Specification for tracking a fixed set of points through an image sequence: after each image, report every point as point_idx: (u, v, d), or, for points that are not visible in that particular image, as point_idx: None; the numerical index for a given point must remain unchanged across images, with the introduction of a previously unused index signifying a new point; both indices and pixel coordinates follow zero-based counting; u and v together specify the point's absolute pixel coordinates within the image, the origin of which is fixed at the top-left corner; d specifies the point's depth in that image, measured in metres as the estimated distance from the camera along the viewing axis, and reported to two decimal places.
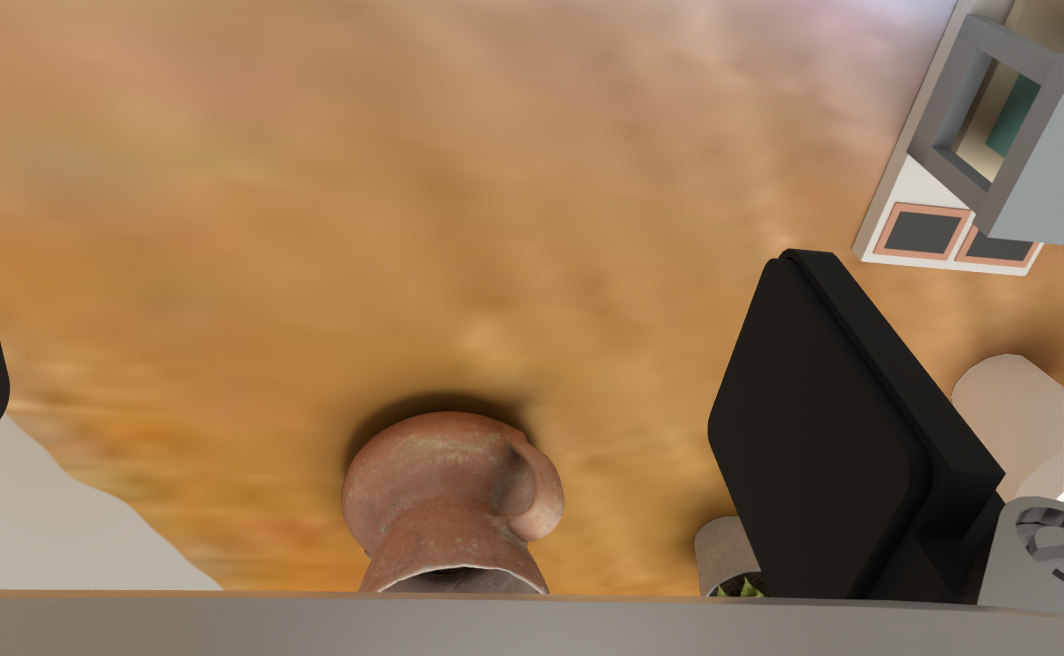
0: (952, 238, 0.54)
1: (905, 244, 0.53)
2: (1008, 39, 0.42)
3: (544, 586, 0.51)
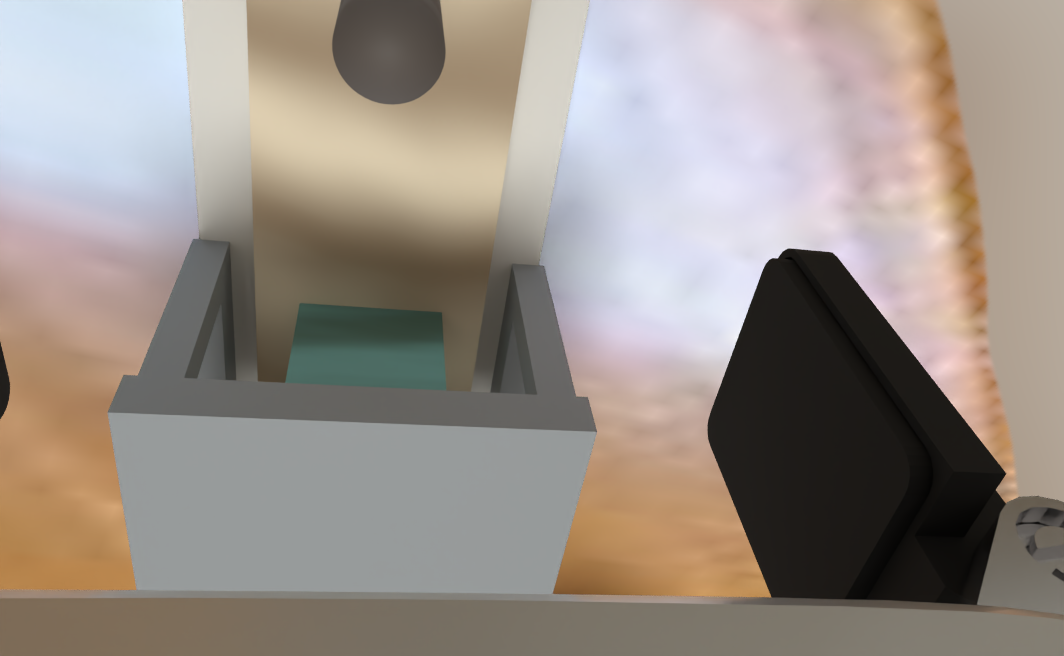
0: None
1: None
2: None
3: None
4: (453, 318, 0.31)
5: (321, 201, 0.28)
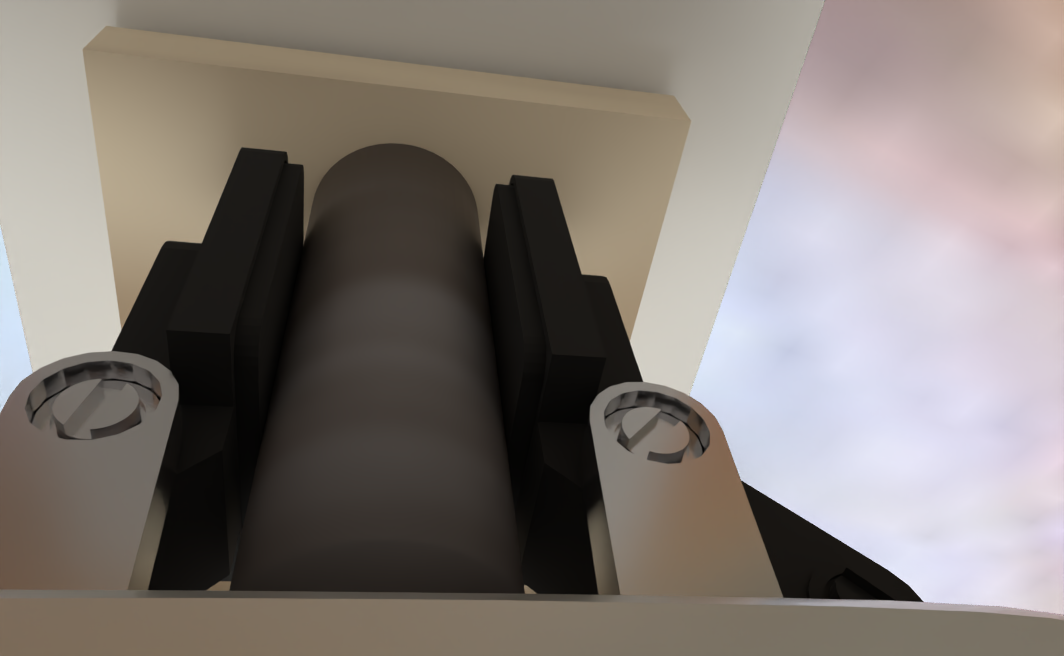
0: None
1: None
2: None
3: None
4: None
5: None
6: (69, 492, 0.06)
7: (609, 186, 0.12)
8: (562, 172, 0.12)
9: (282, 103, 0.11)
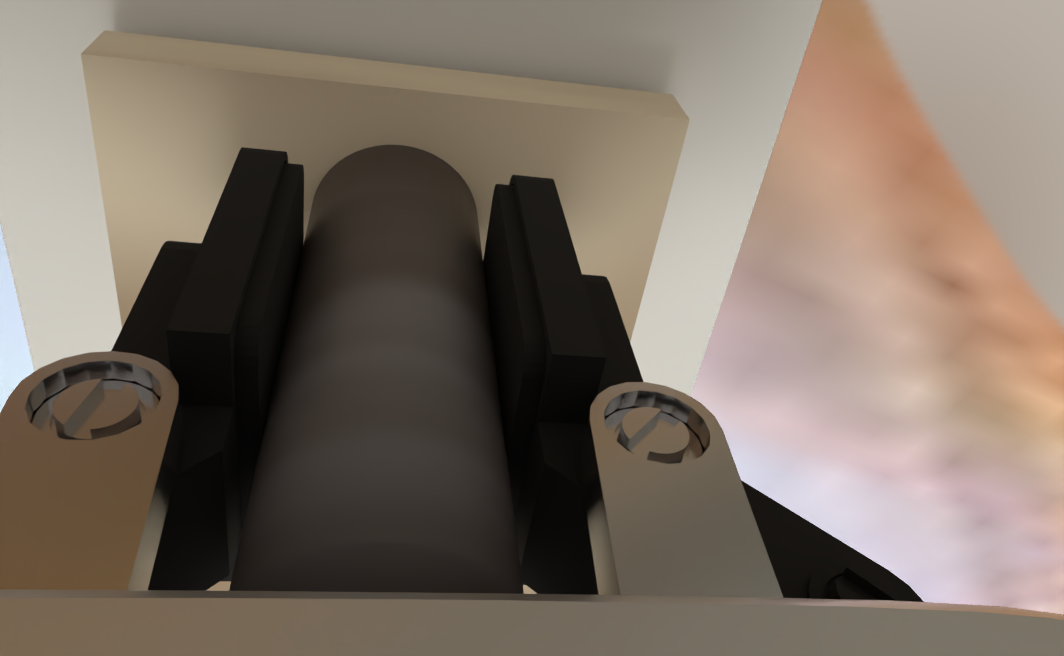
0: None
1: None
2: None
3: None
4: None
5: None
6: (69, 492, 0.06)
7: (608, 185, 0.12)
8: (561, 172, 0.12)
9: (280, 105, 0.11)
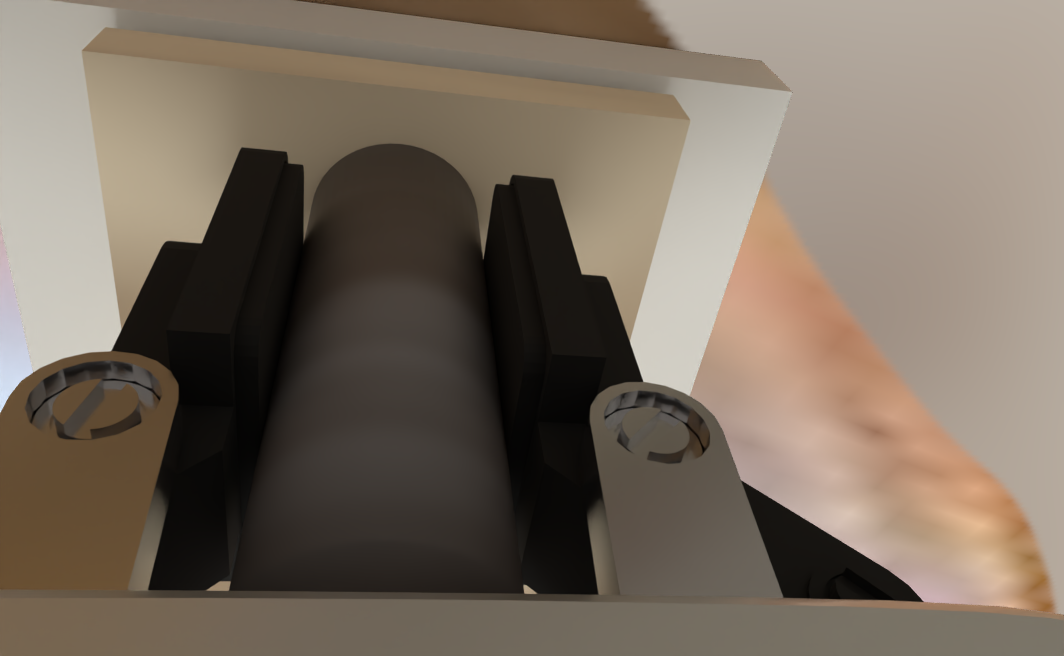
0: None
1: None
2: None
3: None
4: None
5: None
6: (69, 492, 0.06)
7: (608, 186, 0.12)
8: (561, 172, 0.12)
9: (281, 103, 0.11)
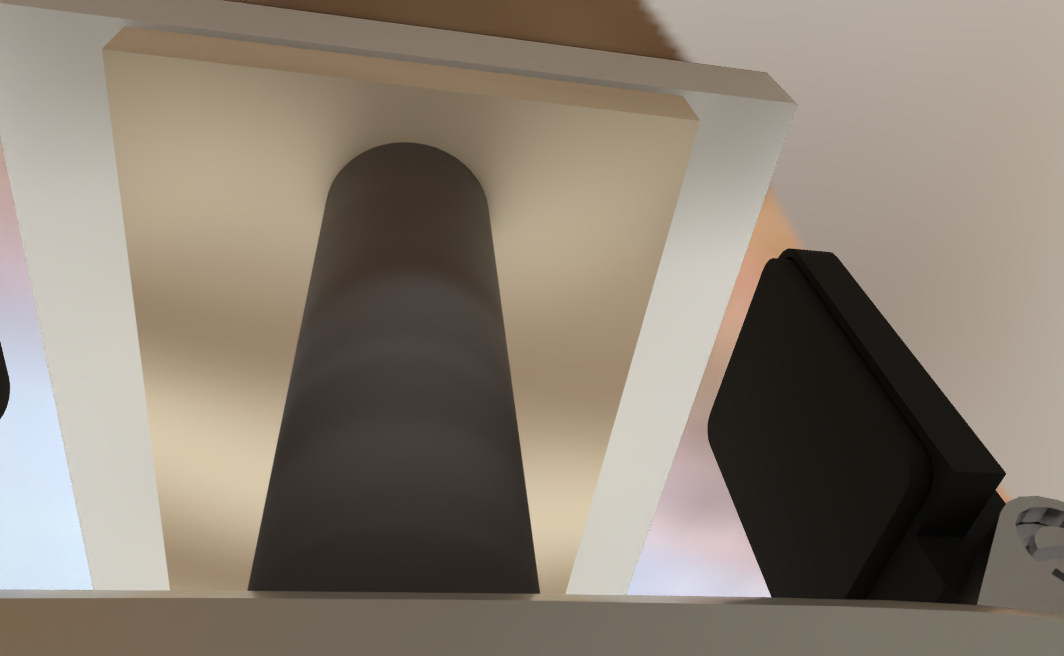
0: None
1: None
2: None
3: None
4: None
5: None
6: None
7: (619, 185, 0.13)
8: (572, 171, 0.12)
9: (297, 103, 0.11)
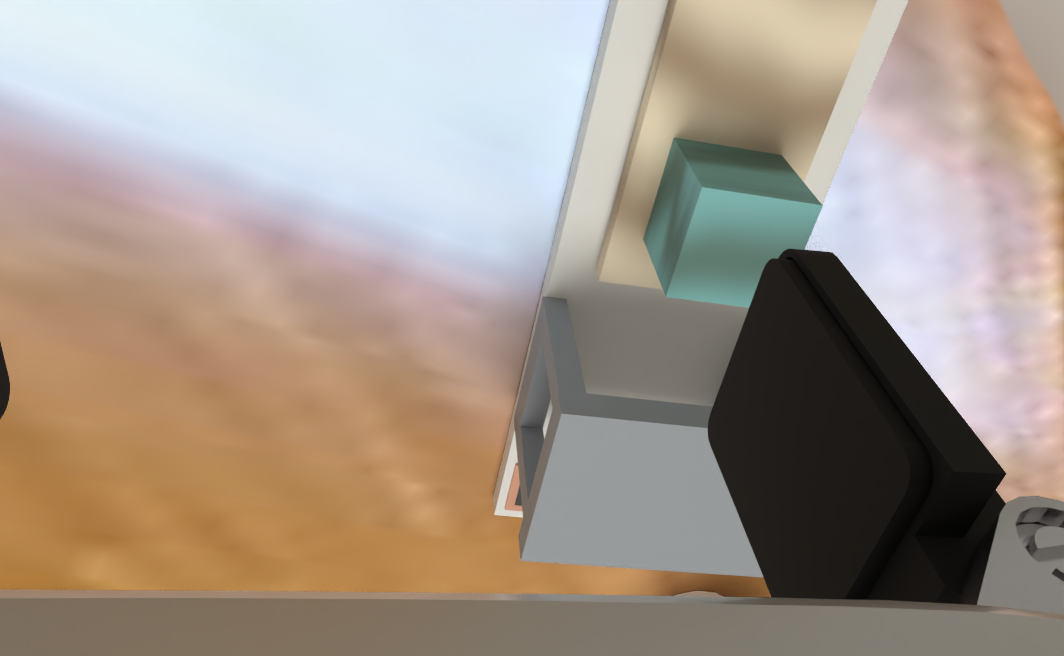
0: None
1: None
2: (550, 346, 0.39)
3: None
4: (788, 161, 0.37)
5: (717, 46, 0.34)
6: None
7: None
8: None
9: None
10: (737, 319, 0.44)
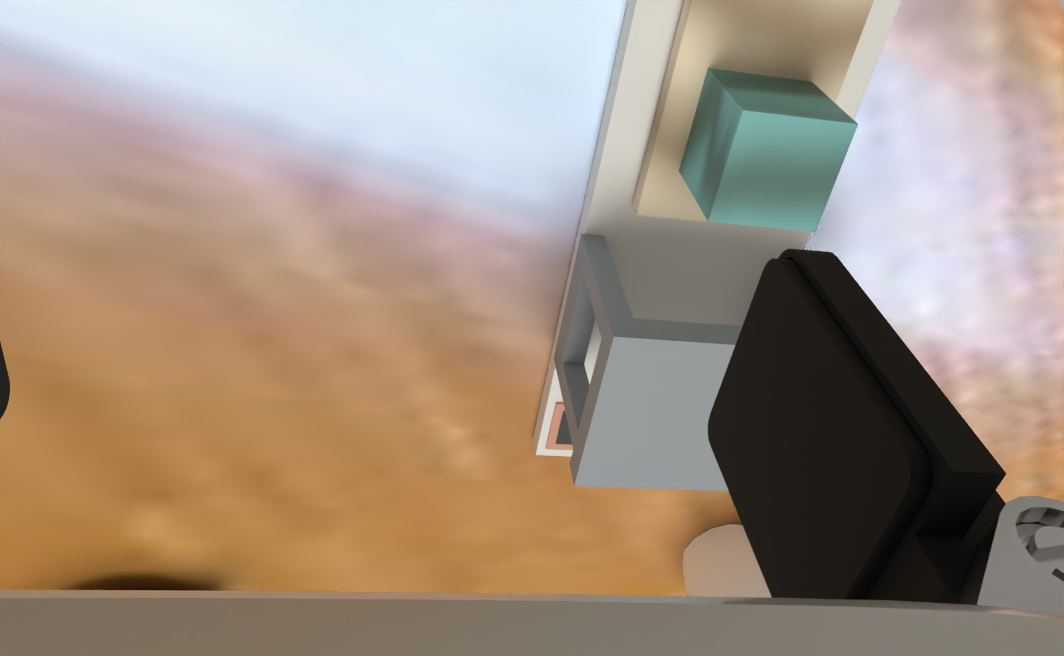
0: None
1: None
2: (594, 278, 0.40)
3: None
4: (818, 88, 0.39)
5: None
6: None
7: None
8: None
9: None
10: (769, 249, 0.45)
